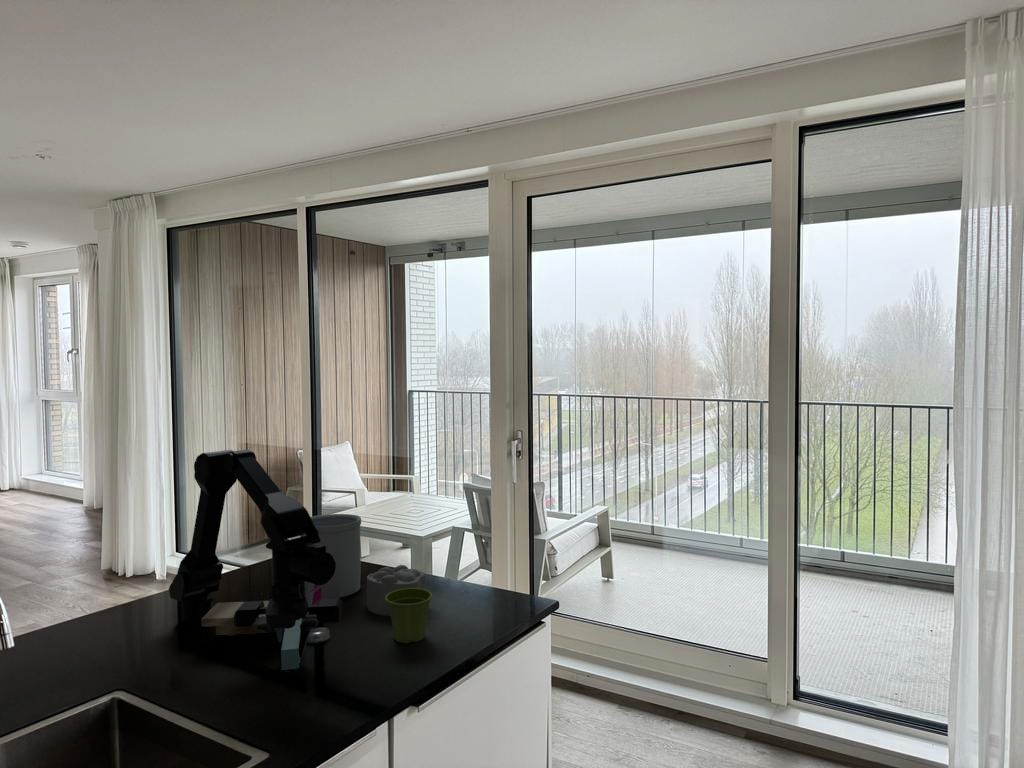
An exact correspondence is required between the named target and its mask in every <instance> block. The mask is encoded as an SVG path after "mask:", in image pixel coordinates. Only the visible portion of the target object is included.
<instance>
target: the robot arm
mask: <svg viewBox="0 0 1024 768" xmlns="http://www.w3.org/2000/svg"><path fill="white" fill-rule="evenodd" d="M193 470H194V475H193V476H194V480H195V481H196V483H197V485H198V487H199V490H200V492H199V498H198V503H197V509H196V516H195V522H194V527H193V534H192V540H191V546H190V550H189V551H188V552H187V554H186V555H185V556H184V557H183V558H182V559H181V561H180V562H179V565H178V569H177V573H176V575H175V577H174V578H173V580H172V581H171V583H170V585H169V587H168V592H169V596H170V597H169V598H171V599H173V600H175V601H177V602H176V604H177V623H176V624H175V625H174V629H187V628H188V629H190V628H203V627H202V624H201V619H202V618H203V617H204V616H205V615H206V614H207V613H208V612H209V611H210V610H211V609H212V608H213V607H214V606H215V604H216V603H215V602H216V600H215V598H213V593H214V592H219V589H220V584H221V580H222V579H223V578H222V574H223V569H224V564H222V562H221V561H220V559H219V557H218V556H217V553H216V552H217V546H218V540H219V536H220V529H221V524H222V523H221V522H222V518H223V512H224V506H225V502H226V501H225V500H226V496H227V493H228V492H229V491H230V489H231V488H232V487H233V486H234V485H235V483H236V482H239V484H240V485H241V487H242V488H243V489H244V491H245V492H246V493H247V494H248V496H249V498H251V500H252V501H253V503H254V504H255V505H256V507H257V508H258V510H259V511H260V514H261V516H260V524H261V527H263V530H264V532H265V534H266V535H267V537H268V538H269V540H270V541H268V542H267V543H266V544H265V548H266V549H268V550H271V561H272V562H271V563H272V565H271V566H272V584H271V593H270V596H269V597H270V598H269V600H268V601H269V603H268V606H267V607H264V603H263V601H264V600H255V601H253V600H252V601H251V602H250V601H243V602H244V603H243V604H242V605H241V606H240V607H239V608H238V610H237V611H236V612H235V614H234V626H236V627H244V626H252V625H253V623H254V622H255V621H256V618H259V625H258V627H257V628H258V629H259V630H264V631H265V632H266V633H267V634H266V635H268V637H269V639H270V640H271V642H272V643H271V644H272V645H273V647H274V651H275V653H276V655H277V657H278V658H279V659H281V648H282V642H283V633H282V628H286V629H288V628H292V627H294V625H295V623H296V620H299V619H301V618H303V621H302V623H301V625H300V631H301V632H300V644H299V657H300V658H303V655H304V652H305V649H306V646H307V644H308V643H307V640H308V636H309V633H310V631H311V629H313V628H317V627H318V624H331V623H332V624H334V623H337V622H340V619H341V618H342V617H341V616H342V614H343V612H344V602H343V600H342V599H341V597H340V598H322V599H321V601H320V603H319V604H318V605H308V603H307V600H306V596H305V581H306V582H309V583H312V584H316V585H324V584H326V583H327V582H328V581H330V579H331V578H332V577H333V575H334V572H335V568H336V562H335V561H334V558H333V556H332V555H331V554H329V553H327V552H326V546H325V545H316V544H315V543H319V542H320V541H321V540H320V538H319V535H318V533H319V532H318V531H317V529H316V527H315V526H314V524H313V522H312V520H311V517H312V516H310V515H311V514H309V511H308V510H307V508H306V507H305V506H304V505H303V504H302V503H300V502H299V500H298V499H296V498H293V497H291V496H289V495H286V494H284V493H283V492H282V491H281V489H280V488H279V487H278V486H277V484H276V483H275V482H274V481H273V479H272V478H271V476H270V475H269V474H268V473H267V471H266V470H265V469H264V468H263V466H262V465H261V464H260V462H258V460H257V455H256V454H255V452H254V450H250V449H239V450H233V449H226V450H225V449H224V450H218V451H211V452H209V451H208V452H202V453H200V454H199V455H197V456H196V458H195V461H194V464H193ZM304 534H306V535H307V536H303V537H300V536H301V535H304Z"/></svg>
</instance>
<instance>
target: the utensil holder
mask: <svg viewBox="0 0 1024 768" xmlns="http://www.w3.org/2000/svg"><path fill="white" fill-rule="evenodd" d="M310 517H311V520H312V522H313V524H314V526H315V527H316V529H317V531H318V532H319V533H318V535H319V538H320V540H321V541H320V542H319V543H315V544H316V545H325V546H326V552H327V553H329V554H331V555H332V556H333V558H334V561H335V562H336V568H335V572H334V575H333V577H332V578H331V579H330V581H328V582H327V583H326V584H324V585H321V596H322V598H340V599H341V598H344V597H348V596H351V595H353V594H355V593H357V592H358V591H360V588H361V567H362V566H361V525H362V517H361V516H359V515H356V514H349V513H339V514H338V513H331V514H330V513H329V514H320V515H318V514H317V515H313V516H310ZM303 536H307V535H306V534H304V535H301V536H299V537H303ZM322 598H321V599H322Z"/></svg>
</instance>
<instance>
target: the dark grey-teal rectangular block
mask: <svg viewBox="0 0 1024 768" xmlns="http://www.w3.org/2000/svg"><path fill="white" fill-rule="evenodd" d="M301 623H302V618H301V619H299V620H296V623H295V625H294V627H292V628H288V629H286V628H285V631H284V633H283V636H282V640H283V642H282V648H281V658H280V659H281V660H280V661H281V671H282V670H288V669H296V668H299V669H300V665H299V663H301V657H299V644H300V632H301V631H300V625H301Z"/></svg>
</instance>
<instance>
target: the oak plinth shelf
mask: <svg viewBox="0 0 1024 768" xmlns="http://www.w3.org/2000/svg"><path fill="white" fill-rule="evenodd" d="M262 601H263V603H264V607H267V606H268V603H269V600H262ZM244 602H245V601H232V602H231V601H229V602H216V603H215V606H214V607H213V608H212V609H211V610H210V611H209V612H208V613H207V614H206V615H205V616H204V617H203V618H202V619H201V624H202V627H201V628H205V627H215V636H216V635H228V636H236V635H235V634H249V635H258V634H257V633H266V632H265V631H264V630H259V629H258V628H257V627H258V625H259V618H256V621H255V622H254V623H253V625H252V626H244V627H236V626H234V614H235V612H236V611H237V610H238V608H239V607H240V606H241V605H242V604H243V603H244ZM249 602H251V601H249ZM284 631H285V628H282V632H284Z"/></svg>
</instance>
